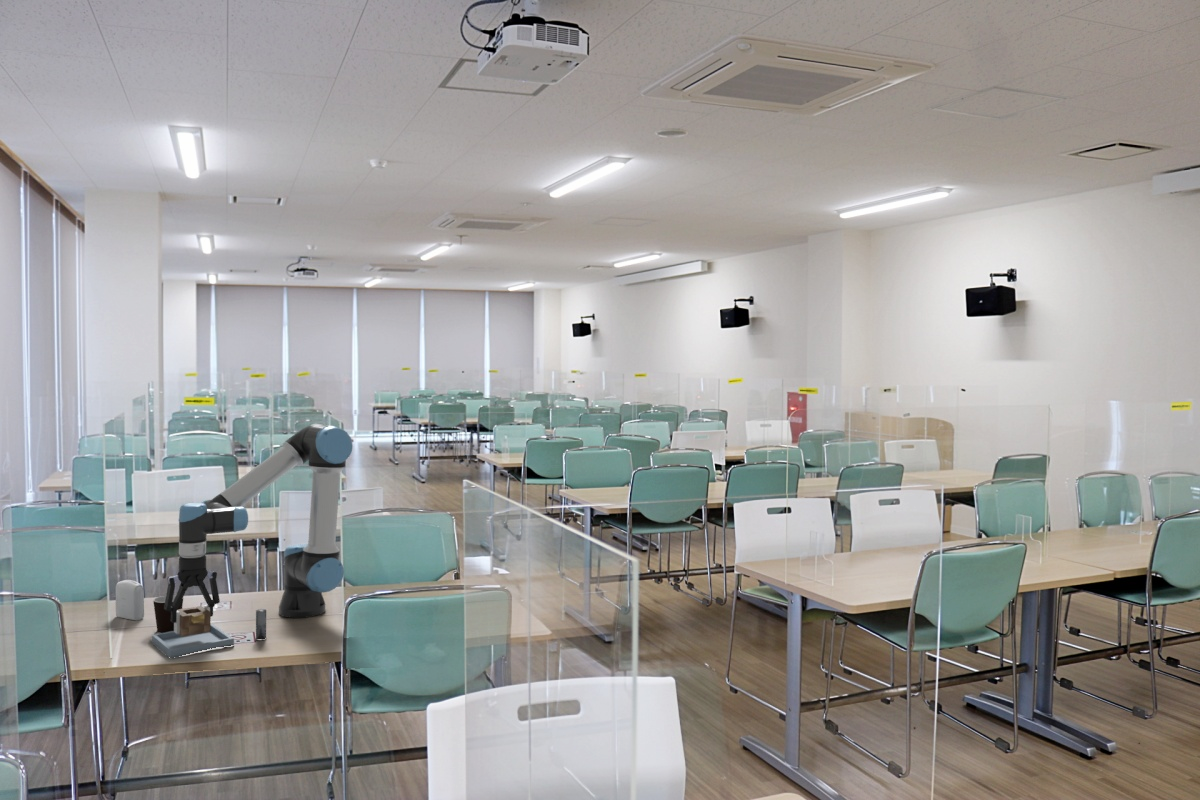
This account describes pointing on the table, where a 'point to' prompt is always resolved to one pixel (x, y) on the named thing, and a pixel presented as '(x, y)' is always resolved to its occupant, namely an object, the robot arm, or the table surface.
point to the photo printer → (129, 600)
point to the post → (261, 624)
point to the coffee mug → (164, 615)
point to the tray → (191, 642)
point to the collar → (194, 621)
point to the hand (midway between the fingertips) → (192, 630)
